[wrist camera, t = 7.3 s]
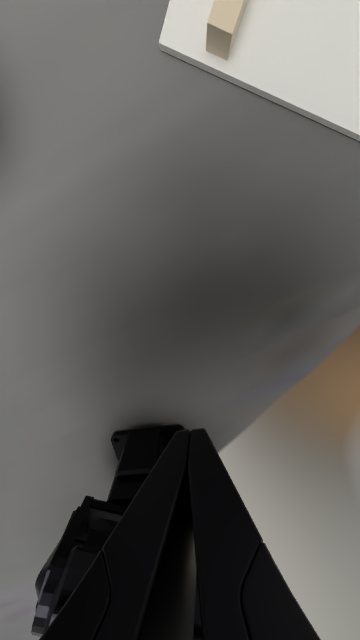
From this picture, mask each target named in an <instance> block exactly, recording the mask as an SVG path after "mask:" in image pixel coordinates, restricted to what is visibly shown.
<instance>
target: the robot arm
mask: <svg viewBox="0 0 360 640" xmlns="http://www.w3.org/2000/svg"><path fill="white" fill-rule="evenodd" d="M176 431H177V432H176ZM117 438H118V439H117ZM111 442H112V445H113V447H114V450H115V453H116V456H117V459H118V461H119V463H118V467H117V470H116V474H115V477H114V480H113V484H112V487H111V490H110V493H109V496H108V499H107V502H105V501H101V500H97V499H94V497H91V496H86V497H85V499H84V501H83V503H82V505H81V507H79V506H78V508H77V510H76V511H73V513H72V516H71V518H70V520H69V523H68V525H67V527H66V529H65V532H64V534H63V536H62V538H61V540H60V541H59V543H58V545H57V546H56V548H55V549H54V551H53V552H52V554H51V555H50V557H49V559H48V560H47V562H46V563H45V565H44V566H43V568H42V570H41V571H40V573H39V575H38V577H37V580H36V583H35V588H36V592H37V596H38V601H37V605H36V611H35V612H36V614H35V617H34V621H33V625H32V631H31V633H32V635H35V636H40V637H41V638H40V639H39V640H320V638H319V636H318V635H317V633H316V632H315V630H314V628H313V627H312V625H311V624H310V622H309V621H308V619H307V617H306V616H305V614H304V612H303V611H302V609H301V608H300V606H299V604H298V602H297V601H296V599H295V598H294V596H293V594H292V592H291V591H290V589H289V587H288V585H287V584H286V582H285V580H284V578H283V576H282V574H281V573H280V571H279V569H278V567H277V565H276V564H275V562H274V560H273V558H272V556H271V554H270V552H269V550H268V549H267V547H266V545H265V543H263V539H262V537H261V535H260V534H259V532H258V530H257V528H256V526H255V524H254V522H253V520H252V518H251V516H250V514H249V512H248V510H247V509H246V507H245V505H244V503H243V501H242V499H241V497H240V495H239V493H238V491H237V489H236V487H235V486H234V484H233V482H232V480H231V478H230V476H229V474H228V472H227V470H226V468H225V466H224V464H223V463H222V461H221V459H220V457H219V455H218V453H217V451H216V449H215V447H214V445H213V443H212V441H211V439H210V438H209V436H208V434H207V432H206V430H205V429H204V428H201V429H192V430H191V431H190V430H184V428H183V427H182V426H180V425H176V426H167V427H158V428H149V429H140V430H131V431H122V432H115V433H113V435H112V437H111Z"/></svg>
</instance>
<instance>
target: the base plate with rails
mask: <svg viewBox="0 0 360 640" xmlns="http://www.w3.org/2000/svg"><path fill="white" fill-rule="evenodd" d="M159 47H160V50H161V51H163V52H166V53H168V54H170V55H172V56H174V57H176V58H179V59H181V60H183V61H185V62H187V63H190V64H192V65H194V66H196V67H198V68H200V69H203V70H205V71H207V72H209V73H211V74H214V75H216V76H218V77H220V78H222V79H224V80H227V81H229V82H231V83H233V84H235V85H238V86H240V87H242V88H244V89H246V90H248V91H251V92H253V93H255V94H257V95H259V96H262V97H264V98H266V99H268V100H270V101H273V102H275V103H277V104H279V105H281V106H283V107H286V108H288V109H290V110H292V111H294V112H297V113H299V114H301V115H303V116H305V117H307V118H310V119H312V120H314V121H316V122H318V123H321V124H323V125H325V126H327V127H329V128H331V129H334V130H336V131H338V132H340V133H342V134H345V135H347V136H349V137H351V138H353V139H355V140H358V141H360V0H170V2H169V6H168V10H167V14H166V17H165V21H164V25H163V28H162V32H161V36H160V40H159Z"/></svg>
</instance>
